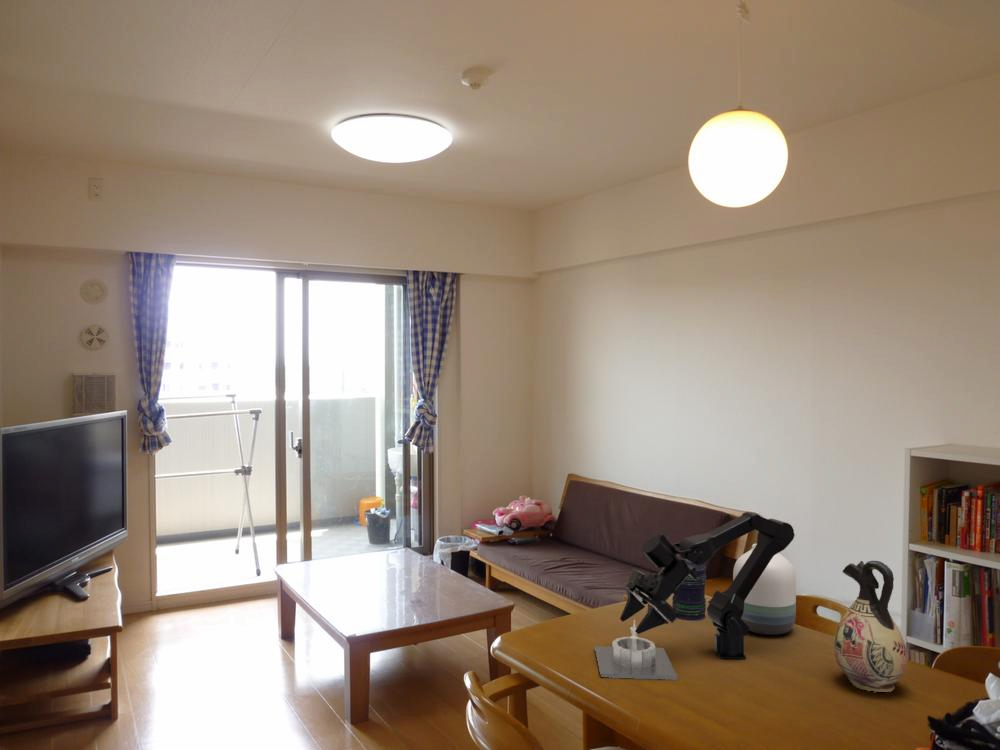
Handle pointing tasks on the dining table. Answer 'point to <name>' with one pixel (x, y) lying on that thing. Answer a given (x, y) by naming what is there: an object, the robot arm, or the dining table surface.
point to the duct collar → (634, 660)
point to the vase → (770, 597)
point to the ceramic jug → (870, 633)
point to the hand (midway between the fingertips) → (628, 626)
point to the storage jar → (691, 596)
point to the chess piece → (634, 636)
